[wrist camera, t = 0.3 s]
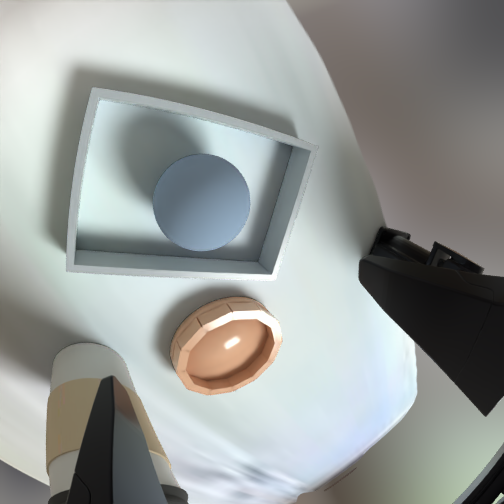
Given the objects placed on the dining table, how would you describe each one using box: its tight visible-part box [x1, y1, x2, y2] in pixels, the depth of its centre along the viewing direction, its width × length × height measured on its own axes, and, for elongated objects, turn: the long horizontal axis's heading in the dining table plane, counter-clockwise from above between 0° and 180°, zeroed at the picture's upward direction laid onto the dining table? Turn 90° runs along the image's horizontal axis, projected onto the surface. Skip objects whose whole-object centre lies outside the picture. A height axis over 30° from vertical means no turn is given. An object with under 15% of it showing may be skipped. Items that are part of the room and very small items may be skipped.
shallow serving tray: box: [66, 87, 318, 281], centre depth 19 cm, size 15×10×2 cm
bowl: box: [170, 297, 282, 395], centre depth 26 cm, size 10×10×2 cm
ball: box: [153, 154, 250, 251], centre depth 17 cm, size 6×6×6 cm
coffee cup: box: [46, 343, 188, 504], centre depth 16 cm, size 9×9×15 cm
